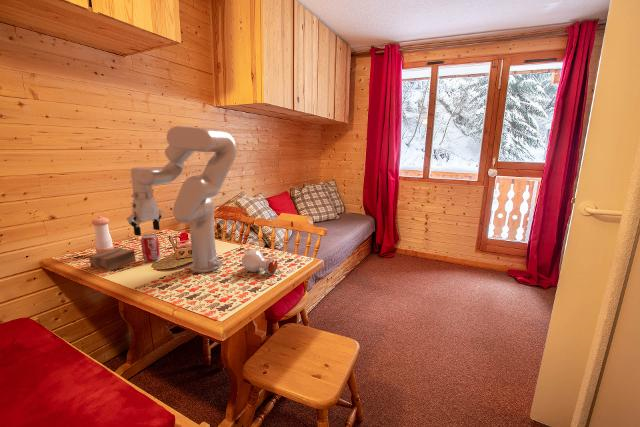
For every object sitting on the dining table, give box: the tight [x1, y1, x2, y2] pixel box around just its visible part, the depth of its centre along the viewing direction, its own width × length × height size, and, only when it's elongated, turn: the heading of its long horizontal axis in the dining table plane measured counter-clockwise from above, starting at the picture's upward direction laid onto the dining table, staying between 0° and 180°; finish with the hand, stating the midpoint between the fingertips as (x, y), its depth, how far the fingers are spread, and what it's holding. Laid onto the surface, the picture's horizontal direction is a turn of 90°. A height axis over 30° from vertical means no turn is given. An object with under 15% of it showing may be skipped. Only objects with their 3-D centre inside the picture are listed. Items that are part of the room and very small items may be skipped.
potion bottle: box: [241, 249, 279, 275], centre depth 125 cm, size 9×10×15 cm
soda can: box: [140, 233, 161, 264], centre depth 137 cm, size 7×7×12 cm
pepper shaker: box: [91, 215, 115, 254], centre depth 146 cm, size 7×7×19 cm
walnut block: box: [88, 247, 136, 272], centre depth 134 cm, size 12×12×5 cm
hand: (147, 232), depth 136 cm, fingers open, 9 cm apart
